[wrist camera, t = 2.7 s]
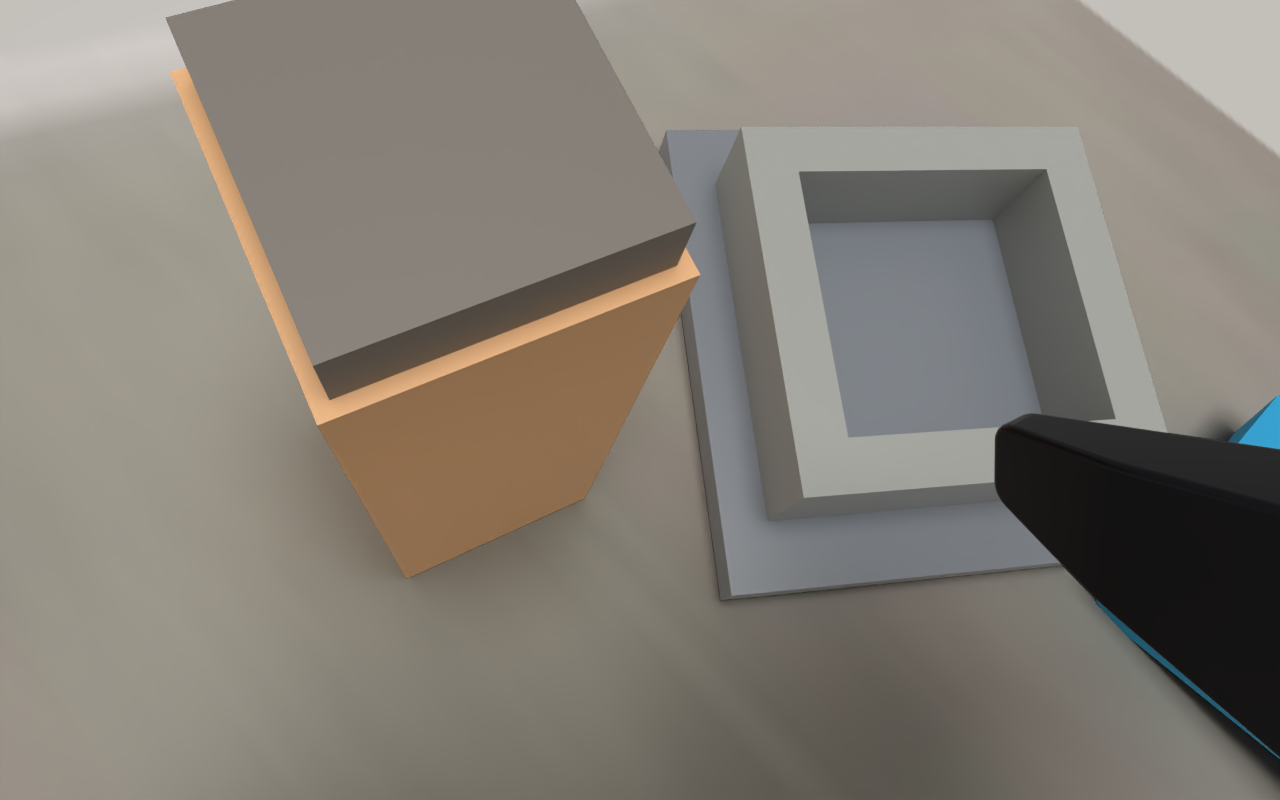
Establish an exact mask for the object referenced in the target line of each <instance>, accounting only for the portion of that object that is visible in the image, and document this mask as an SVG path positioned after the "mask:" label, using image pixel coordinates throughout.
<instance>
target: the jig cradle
mask: <svg viewBox="0 0 1280 800" xmlns="http://www.w3.org/2000/svg"><path fill="white" fill-rule="evenodd" d="M659 154H660V156H661V158H662V159H663V161H664V163H665V165H666V167H667V169H668V170H669V172H670V174H671V176H672V178H673V180H674V181H675V183H676V185H677V187H678V189H679V191H680V192H681V194H682V196H683V198H684V200H685V202H686V203H687V205H688V207H689V209H690V211H691V213H692V214H693V216H694V218H695V220H696V222H697V223H696V225H695V227H694V229H693V232H692V234H691V236H690V238H689V240H688V243H687V245H686V249H687V251H688V253H689V255H690V256H691V258H692V260H693V262H694V264H695V266H696V268H697V269H698V271H699V273H700V277H699V279H698V280H697V282H696V284H695V286H694V288H693V290H692V292H691V294H690V296H689V298H688V300H687V302H686V304H685V306H684V308H683V310H682V311H681V315H682V322H683V330H684V337H685V344H686V352H687V359H688V366H689V373H690V381H691V388H692V395H693V403H694V410H695V417H696V425H697V432H698V439H699V447H700V454H701V461H702V469H703V476H704V483H705V491H706V498H707V505H708V513H709V520H710V527H711V534H712V542H713V549H714V556H715V564H716V571H717V578H718V586H719V593H720V600H731V599H741V598H750V597H760V596H770V595H780V594H789V593H799V592H809V591H819V590H828V589H838V588H848V587H858V586H867V585H877V584H887V583H897V582H906V581H916V580H926V579H935V578H945V577H955V576H965V575H974V574H984V573H994V572H1004V571H1013V570H1023V569H1033V568H1043V567H1052V566H1062V565H1061V564H1060V562H1059V561H1058V560H1057V559H1056V558H1055V557H1054V556H1053V555H1052V554H1051V553H1050V552H1049V551H1048V550H1047V549H1046V548H1045V547H1044V546H1043V545H1042V544H1041V543H1040V542H1039V541H1038V540H1037V539H1036V538H1035V537H1034V535H1033V534H1032V533H1031V532H1030V531H1029V530H1028V529H1027V528H1026V527H1025V526H1024V525H1023V524H1022V523H1021V522H1020V521H1019V520H1018V519H1017V518H1016V517H1015V516H1014V515H1013V514H1012V513H1011V512H1010V511H1009V509H1008V508H1007V507H1006V506H1005V505H1004V504H1003V503H1002V501H1001V500H1000V498H999V496H998V494H997V492H996V489H995V484H994V451H995V434H996V432H997V430H998V428H999V427H1001V426H1002V425H1004V424H1006V423H1008V422H1010V421H1012V420H1014V419H1016V418H1018V417H1020V416H1022V415H1024V414H1028V413H1036V414H1043V415H1050V416H1057V417H1063V418H1070V419H1077V420H1084V421H1091V422H1098V423H1104V424H1111V425H1118V426H1125V427H1132V428H1139V429H1146V430H1152V431H1159V432H1166V433H1168V432H1167V429H1166V426H1165V422H1164V419H1163V415H1162V412H1161V409H1160V405H1159V402H1158V398H1157V395H1156V392H1155V388H1154V385H1153V381H1152V378H1151V375H1150V371H1149V368H1148V364H1147V361H1146V358H1145V354H1144V351H1143V347H1142V344H1141V341H1140V337H1139V334H1138V330H1137V327H1136V324H1135V320H1134V317H1133V313H1132V310H1131V307H1130V303H1129V300H1128V296H1127V293H1126V290H1125V286H1124V283H1123V279H1122V276H1121V273H1120V269H1119V266H1118V262H1117V259H1116V256H1115V252H1114V249H1113V245H1112V242H1111V239H1110V235H1109V232H1108V228H1107V225H1106V222H1105V218H1104V215H1103V211H1102V208H1101V205H1100V201H1099V198H1098V194H1097V191H1096V188H1095V184H1094V181H1093V177H1092V174H1091V171H1090V167H1089V164H1088V160H1087V157H1086V154H1085V150H1084V147H1083V143H1082V140H1081V137H1080V133H1079V130H1078V127H741V129H740V130H666V133H665V136H664V139H663V142H662V145H661V148H660V151H659Z"/></svg>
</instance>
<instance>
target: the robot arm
mask: <svg viewBox="0 0 1280 800" xmlns="http://www.w3.org/2000/svg"><path fill="white" fill-rule="evenodd" d="M994 484H995V489H996V492H997V494H998V496H999V498H1000V500H1001V501H1002V503H1003V504H1004V505H1005V506H1006V507H1007V508H1008V509H1009V511H1010V512H1011V513H1012V514H1013V515H1014V516H1015V517H1016V518H1017V519H1018V520H1019V521H1020V522H1021V523H1022V524H1023V525H1024V526H1025V527H1026V528H1027V529H1028V530H1029V531H1030V532H1031V533H1032V534H1033V535H1034V537H1035V538H1036V539H1037V540H1038V541H1039V542H1040V543H1041V544H1042V545H1043V546H1044V547H1045V548H1046V549H1047V550H1048V551H1049V552H1050V553H1051V554H1052V555H1053V556H1054V557H1055V558H1056V559H1057V560H1058V561H1059V562H1060V564H1061V565H1062V566H1063V567H1064V568H1065V569H1066V570H1067V571H1068V572H1069V573H1070V574H1071V575H1072V576H1073V577H1074V578H1075V579H1076V580H1077V581H1078V582H1079V583H1080V584H1081V585H1082V586H1083V587H1084V588H1085V589H1086V590H1087V591H1088V592H1089V593H1090V594H1091V595H1092V596H1093V597H1094V598H1095V599H1096V600H1097V601H1098V602H1099V603H1100V604H1102V605H1103V606H1104V607H1105V608H1106V609H1107V610H1108V611H1109V612H1110V613H1112V614H1113V615H1114V616H1115V617H1116V618H1117V619H1119V620H1120V621H1121V622H1122V623H1123V624H1124V625H1126V626H1127V627H1128V628H1129V629H1130V630H1131V631H1133V632H1134V633H1135V634H1136V635H1137V636H1138V637H1140V638H1141V639H1142V640H1143V641H1144V642H1145V643H1147V644H1148V645H1149V646H1150V647H1151V648H1152V649H1154V650H1155V651H1156V652H1157V653H1158V654H1159V655H1161V656H1162V657H1163V658H1164V659H1165V660H1166V661H1168V662H1169V663H1170V664H1171V665H1172V666H1173V667H1175V668H1176V669H1177V670H1178V671H1179V672H1180V673H1182V674H1183V675H1184V676H1185V677H1186V678H1187V679H1189V680H1190V681H1191V682H1192V683H1193V684H1194V685H1196V686H1197V687H1198V688H1199V689H1200V690H1201V691H1203V692H1204V693H1205V694H1206V695H1207V696H1208V697H1210V698H1211V699H1212V700H1213V701H1214V702H1215V703H1217V704H1218V705H1219V706H1220V707H1221V708H1222V709H1224V710H1225V711H1226V712H1227V713H1228V714H1229V715H1231V716H1232V717H1233V718H1234V719H1235V720H1236V721H1238V722H1239V723H1240V724H1241V725H1242V726H1243V727H1245V728H1246V729H1247V730H1248V731H1249V732H1250V733H1252V734H1253V735H1254V736H1255V737H1256V738H1257V739H1259V740H1260V741H1261V742H1262V743H1263V744H1264V745H1266V746H1267V747H1268V748H1269V749H1270V750H1271V751H1273V752H1274V753H1275V754H1276V755H1277V756H1278V757H1280V449H1276V448H1269V447H1262V446H1255V445H1249V444H1242V443H1235V442H1228V441H1221V440H1214V439H1207V438H1200V437H1194V436H1187V435H1180V434H1173V433H1166V432H1159V431H1152V430H1146V429H1139V428H1132V427H1125V426H1118V425H1111V424H1104V423H1098V422H1091V421H1084V420H1077V419H1070V418H1063V417H1057V416H1050V415H1043V414H1036V413H1028V414H1024V415H1022V416H1020V417H1018V418H1016V419H1014V420H1012V421H1010V422H1008V423H1006V424H1004V425H1002V426H1001V427H999V428H998V430H997V432H996V434H995V451H994Z"/></svg>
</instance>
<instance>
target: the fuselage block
mask: <svg viewBox="0 0 1280 800" xmlns="http://www.w3.org/2000/svg"><path fill="white" fill-rule="evenodd" d="M166 20H167V23H168V25H169V27H170V30H171V32H172V34H173V37H174V39H175V41H176V44H177V46H178V49H179V51H180V53H181V56H182V58H183V60H184V63H185V65H186V67H187V68H184V69H180V70H176V71H173V72H170V74H171V76H172V78H173V81H174V83H175V86H176V88H177V90H178V93H179V95H180V98H181V100H182V102H183V105H184V107H185V110H186V112H187V114H188V117H189V119H190V122H191V124H192V126H193V129H194V131H195V133H196V136H197V138H198V141H199V143H200V145H201V148H202V150H203V153H204V155H205V157H206V160H207V162H208V165H209V167H210V169H211V172H212V174H213V177H214V179H215V181H216V184H217V186H218V189H219V191H220V193H221V196H222V198H223V201H224V203H225V205H226V208H227V210H228V213H229V215H230V217H231V220H232V222H233V225H234V227H235V229H236V232H237V234H238V237H239V239H240V241H241V244H242V246H243V248H244V251H245V253H246V256H247V258H248V260H249V263H250V265H251V268H252V270H253V272H254V275H255V277H256V280H257V282H258V284H259V287H260V289H261V292H262V294H263V296H264V299H265V301H266V304H267V306H268V308H269V311H270V313H271V316H272V318H273V320H274V323H275V325H276V328H277V330H278V332H279V335H280V337H281V340H282V342H283V344H284V347H285V349H286V352H287V354H288V356H289V359H290V361H291V363H292V366H293V368H294V371H295V373H296V375H297V378H298V380H299V383H300V385H301V387H302V390H303V392H304V395H305V397H306V399H307V402H308V404H309V407H310V409H311V411H312V414H313V416H314V419H315V421H316V423H317V426H318V427H319V429H320V431H321V433H322V434H323V436H324V438H325V439H326V441H327V443H328V445H329V446H330V448H331V450H332V451H333V453H334V455H335V457H336V458H337V460H338V462H339V463H340V465H341V467H342V469H343V470H344V472H345V474H346V476H347V477H348V479H349V481H350V482H351V484H352V486H353V488H354V489H355V491H356V493H357V494H358V496H359V498H360V500H361V501H362V503H363V505H364V506H365V508H366V510H367V512H368V513H369V515H370V517H371V518H372V520H373V522H374V524H375V525H376V527H377V529H378V531H379V532H380V534H381V536H382V537H383V539H384V541H385V543H386V544H387V546H388V548H389V549H390V551H391V553H392V555H393V556H394V558H395V560H396V561H397V563H398V565H399V567H400V568H401V570H402V572H403V573H404V575H405V577H406V579H408V578H410V577H412V576H414V575H417V574H419V573H421V572H423V571H425V570H428V569H430V568H432V567H434V566H436V565H439V564H441V563H443V562H445V561H447V560H450V559H452V558H454V557H456V556H458V555H461V554H463V553H465V552H467V551H469V550H472V549H474V548H476V547H478V546H480V545H483V544H485V543H487V542H489V541H491V540H494V539H496V538H498V537H500V536H503V535H505V534H507V533H509V532H511V531H514V530H516V529H518V528H520V527H522V526H525V525H527V524H529V523H531V522H533V521H536V520H538V519H540V518H542V517H544V516H547V515H549V514H551V513H553V512H555V511H558V510H560V509H562V508H564V507H566V506H569V505H571V504H573V503H575V502H577V501H580V500H582V499H584V498H585V497H586V495H587V493H588V491H589V489H590V487H591V485H592V484H593V482H594V480H595V478H596V476H597V474H598V472H599V470H600V468H601V466H602V464H603V462H604V460H605V458H606V456H607V455H608V453H609V451H610V449H611V447H612V445H613V443H614V441H615V439H616V437H617V435H618V433H619V431H620V429H621V427H622V426H623V424H624V422H625V420H626V418H627V416H628V414H629V412H630V410H631V408H632V406H633V404H634V402H635V400H636V398H637V397H638V395H639V393H640V391H641V389H642V387H643V385H644V383H645V381H646V379H647V377H648V375H649V373H650V371H651V369H652V368H653V366H654V364H655V362H656V360H657V358H658V356H659V354H660V352H661V350H662V348H663V346H664V344H665V342H666V340H667V339H668V337H669V335H670V333H671V331H672V329H673V327H674V325H675V323H676V321H677V319H678V317H679V315H680V313H681V311H682V310H683V308H684V306H685V304H686V302H687V300H688V298H689V296H690V294H691V292H692V290H693V288H694V286H695V284H696V282H697V280H698V279H699V277H700V273H699V271H698V269H697V268H696V266H695V264H694V262H693V260H692V258H691V256H690V255H689V253H688V251H687V249H686V245H687V243H688V240H689V238H690V236H691V234H692V232H693V229H694V227H695V225H696V223H697V222H696V220H695V218H694V216H693V214H692V213H691V211H690V209H689V207H688V205H687V203H686V202H685V200H684V198H683V196H682V194H681V192H680V191H679V189H678V187H677V185H676V183H675V181H674V180H673V178H672V176H671V174H670V172H669V170H668V169H667V167H666V165H665V163H664V161H663V159H662V158H661V156H660V154H659V152H658V150H657V148H656V147H655V145H654V143H653V141H652V139H651V137H650V136H649V134H648V132H647V130H646V128H645V126H644V125H643V123H642V121H641V119H640V117H639V115H638V114H637V112H636V110H635V108H634V106H633V105H632V103H631V101H630V99H629V97H628V95H627V94H626V92H625V90H624V88H623V86H622V84H621V83H620V81H619V79H618V77H617V75H616V73H615V72H614V70H613V68H612V66H611V64H610V62H609V61H608V59H607V57H606V55H605V53H604V51H603V50H602V48H601V46H600V44H599V42H598V40H597V39H596V37H595V35H594V33H593V31H592V29H591V28H590V26H589V24H588V22H587V20H586V18H585V17H584V15H583V13H582V11H581V9H580V7H579V6H578V4H577V2H576V0H233V1H229V2H225V3H221V4H218V5H214V6H210V7H206V8H202V9H198V10H194V11H190V12H186V13H182V14H178V15H174V16H170V17H166Z"/></svg>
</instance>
